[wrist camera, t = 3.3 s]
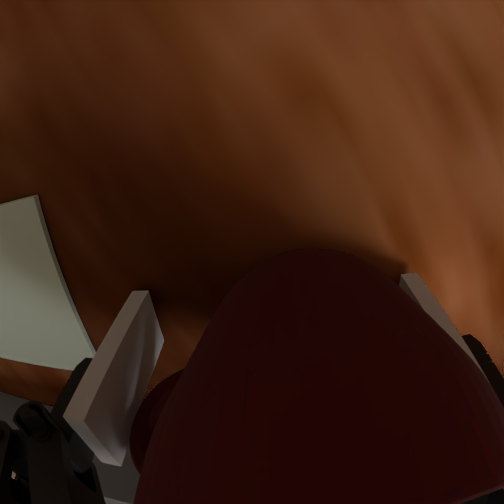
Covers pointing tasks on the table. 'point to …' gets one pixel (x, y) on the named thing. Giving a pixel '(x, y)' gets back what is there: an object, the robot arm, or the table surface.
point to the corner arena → (44, 321)
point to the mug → (320, 399)
